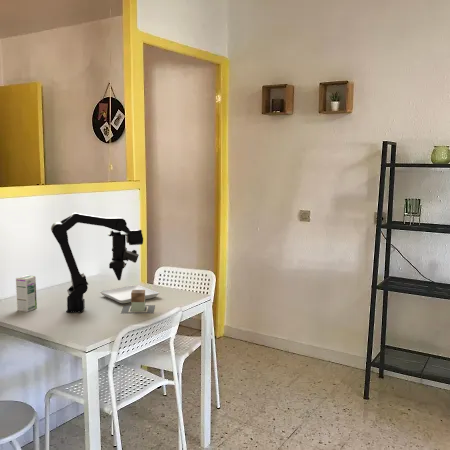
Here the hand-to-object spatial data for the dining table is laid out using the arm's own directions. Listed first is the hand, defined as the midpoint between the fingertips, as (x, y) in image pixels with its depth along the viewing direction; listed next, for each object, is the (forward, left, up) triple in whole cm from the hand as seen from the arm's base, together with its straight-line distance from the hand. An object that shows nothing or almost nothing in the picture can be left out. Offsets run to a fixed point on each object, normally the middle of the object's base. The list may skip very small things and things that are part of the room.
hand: (119, 280), depth 216 cm
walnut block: (+9, -6, -8) cm, 13 cm away
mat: (+9, -6, -12) cm, 16 cm away
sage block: (+9, -6, -12) cm, 16 cm away
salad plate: (+3, +14, -13) cm, 19 cm away
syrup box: (-39, -4, -12) cm, 41 cm away
